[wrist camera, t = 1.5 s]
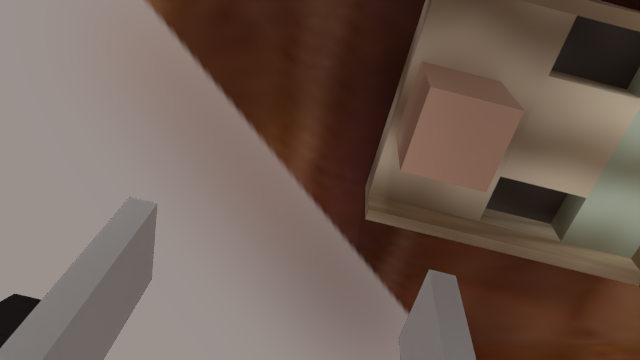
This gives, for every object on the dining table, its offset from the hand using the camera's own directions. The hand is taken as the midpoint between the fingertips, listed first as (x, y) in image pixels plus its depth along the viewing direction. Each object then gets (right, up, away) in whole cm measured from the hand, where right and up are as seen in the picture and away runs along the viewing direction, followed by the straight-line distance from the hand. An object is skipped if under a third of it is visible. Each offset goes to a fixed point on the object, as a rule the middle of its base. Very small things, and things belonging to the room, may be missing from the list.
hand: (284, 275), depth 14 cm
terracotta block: (+9, +7, +17) cm, 20 cm away
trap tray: (+16, +7, +19) cm, 26 cm away
